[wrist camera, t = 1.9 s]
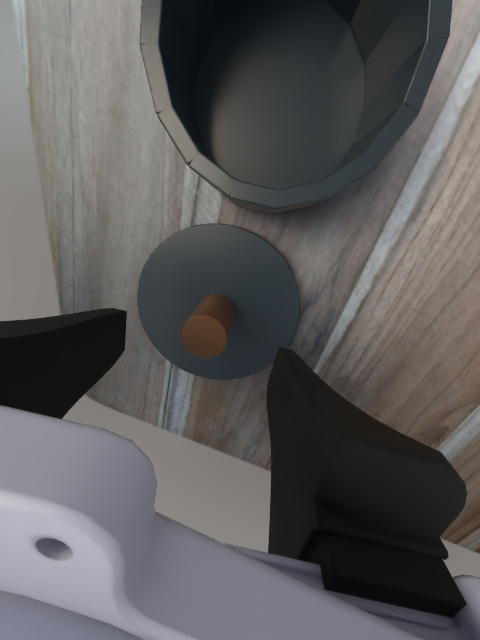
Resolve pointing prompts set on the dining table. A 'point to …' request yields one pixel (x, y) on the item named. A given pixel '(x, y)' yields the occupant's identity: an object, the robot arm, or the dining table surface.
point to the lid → (218, 301)
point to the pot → (289, 88)
